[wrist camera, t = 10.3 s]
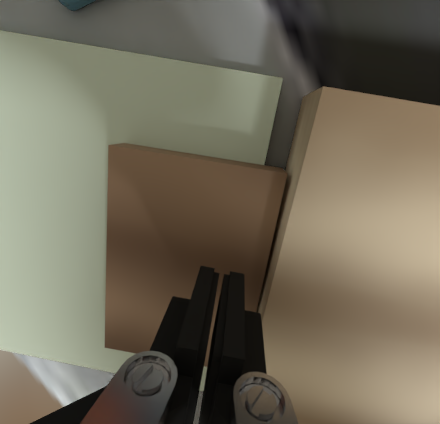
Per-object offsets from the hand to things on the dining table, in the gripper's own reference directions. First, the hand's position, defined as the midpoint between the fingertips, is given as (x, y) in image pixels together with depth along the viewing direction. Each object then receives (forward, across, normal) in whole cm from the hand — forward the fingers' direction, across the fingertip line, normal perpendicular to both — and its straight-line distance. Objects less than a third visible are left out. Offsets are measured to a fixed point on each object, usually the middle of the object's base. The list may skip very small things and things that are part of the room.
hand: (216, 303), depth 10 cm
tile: (+3, +2, 0) cm, 4 cm away
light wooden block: (+4, -8, 0) cm, 9 cm away
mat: (+4, +6, 0) cm, 7 cm away
